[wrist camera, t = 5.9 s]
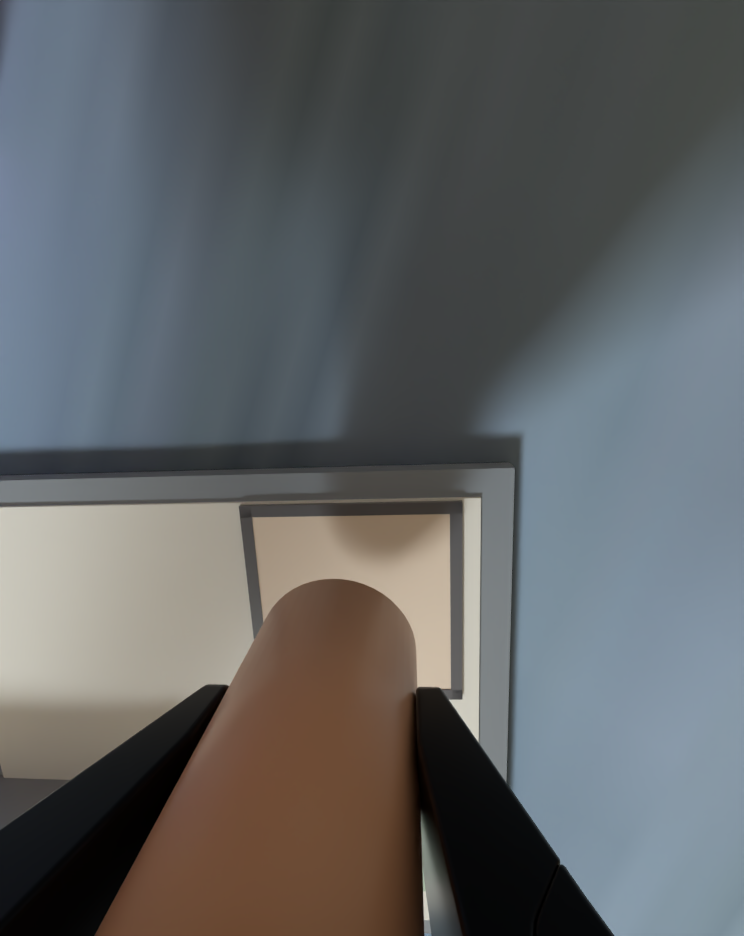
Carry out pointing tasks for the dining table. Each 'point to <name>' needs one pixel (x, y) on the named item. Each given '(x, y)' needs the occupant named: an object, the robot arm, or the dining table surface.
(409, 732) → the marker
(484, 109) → the dining table surface
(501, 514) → the square board tray
